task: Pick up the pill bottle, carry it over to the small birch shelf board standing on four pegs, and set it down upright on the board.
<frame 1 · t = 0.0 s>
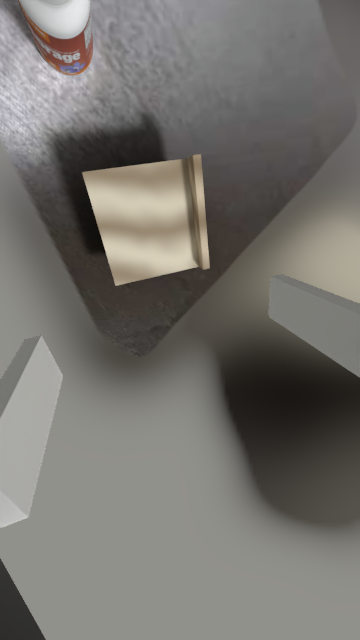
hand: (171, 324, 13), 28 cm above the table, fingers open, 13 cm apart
peg shelf: (145, 223, 36), on the table
pill bottle: (64, 42, 26), on the table
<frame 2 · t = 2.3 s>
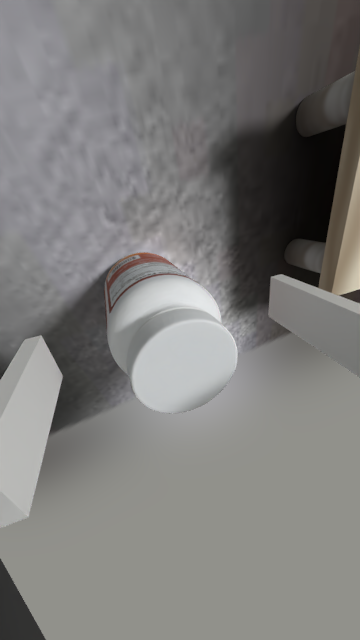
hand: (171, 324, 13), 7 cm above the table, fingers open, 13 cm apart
peg shelf: (347, 184, 20), on the table
pill bottle: (142, 287, 19), on the table
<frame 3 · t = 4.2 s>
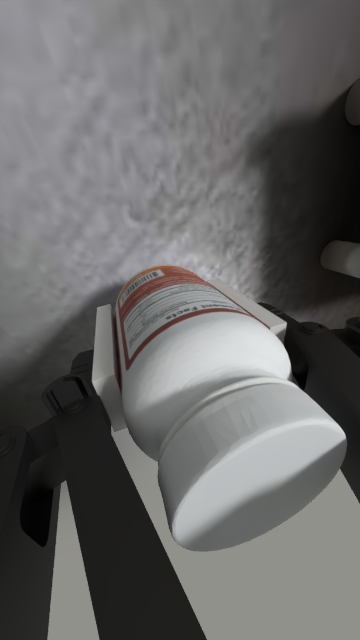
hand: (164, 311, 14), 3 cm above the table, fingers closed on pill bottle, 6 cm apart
pill bottle: (162, 308, 15), point 2 cm above the table, touching gripper
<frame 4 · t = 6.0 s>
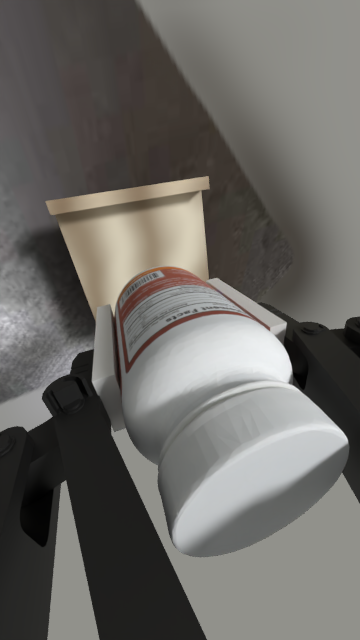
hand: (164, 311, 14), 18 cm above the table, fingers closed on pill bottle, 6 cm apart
peg shelf: (138, 253, 29), on the table
pill bottle: (162, 309, 15), point 17 cm above the table, touching gripper
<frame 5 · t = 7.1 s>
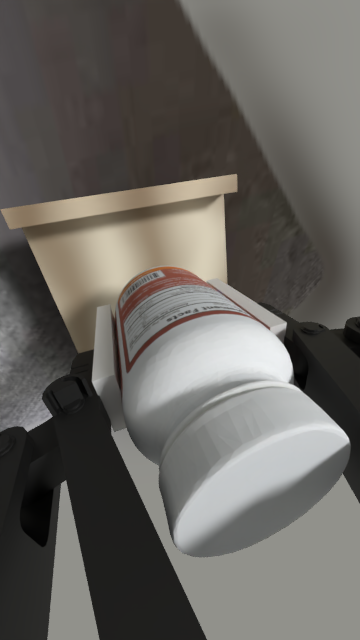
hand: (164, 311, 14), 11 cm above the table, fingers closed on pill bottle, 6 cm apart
peg shelf: (138, 271, 24), on the table
pill bottle: (162, 308, 15), point 10 cm above the table, touching gripper
when the fingers open (8 cm above the table, at t = 7.9 s): pill bottle drops 1 cm, resting on peg shelf.
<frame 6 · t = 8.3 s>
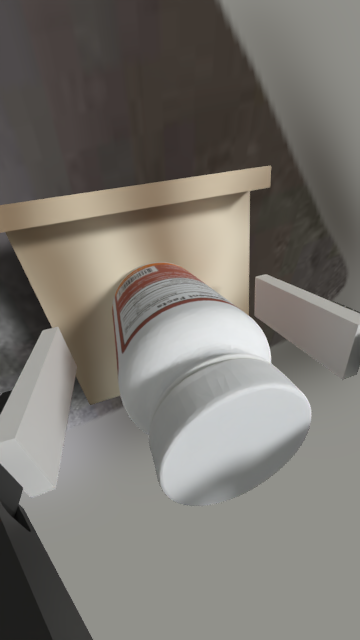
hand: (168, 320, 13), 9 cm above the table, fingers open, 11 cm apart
peg shelf: (145, 278, 21), on the table
pill bottle: (157, 303, 16), point 6 cm above the table, touching peg shelf
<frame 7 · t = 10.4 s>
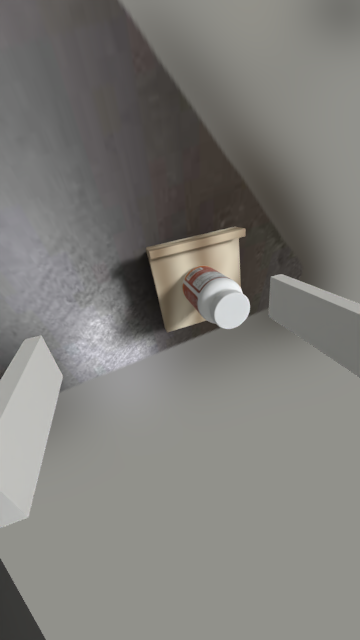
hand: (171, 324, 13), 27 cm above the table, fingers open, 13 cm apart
peg shelf: (188, 273, 41), on the table
pill bottle: (199, 283, 36), point 6 cm above the table, touching peg shelf
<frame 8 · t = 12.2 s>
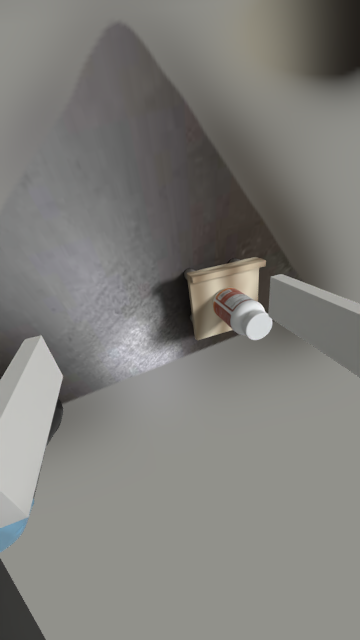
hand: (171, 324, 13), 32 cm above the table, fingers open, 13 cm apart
peg shelf: (213, 291, 49), on the table
pill bottle: (225, 301, 44), point 6 cm above the table, touching peg shelf
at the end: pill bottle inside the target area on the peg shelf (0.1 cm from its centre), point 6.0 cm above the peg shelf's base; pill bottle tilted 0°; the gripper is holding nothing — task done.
